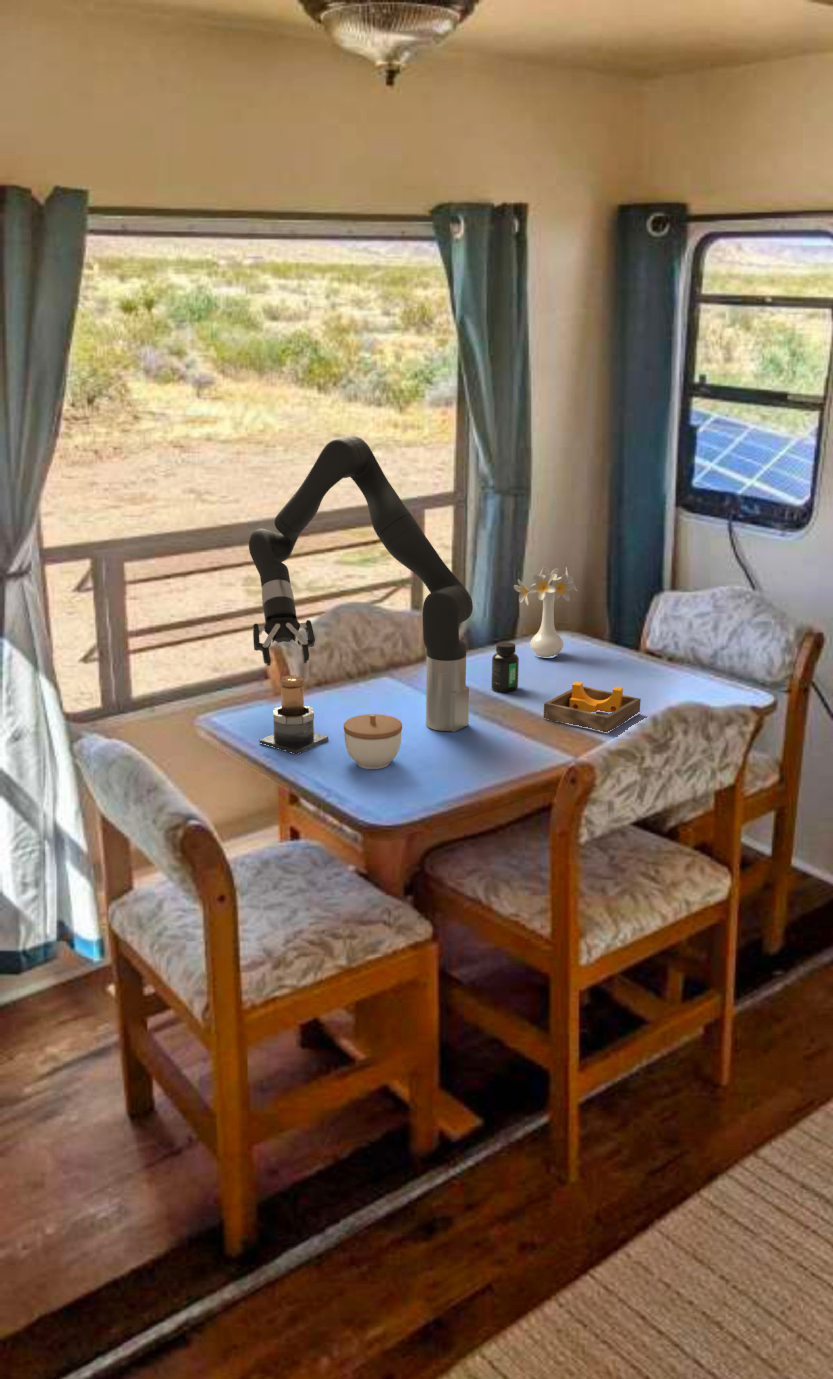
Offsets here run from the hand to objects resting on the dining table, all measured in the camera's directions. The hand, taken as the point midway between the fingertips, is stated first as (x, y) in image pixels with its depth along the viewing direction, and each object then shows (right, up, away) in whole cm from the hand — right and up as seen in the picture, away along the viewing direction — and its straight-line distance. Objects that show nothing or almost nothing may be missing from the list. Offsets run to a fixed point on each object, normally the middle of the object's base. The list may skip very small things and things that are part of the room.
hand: (287, 662), depth 281 cm
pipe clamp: (+74, -12, +14) cm, 76 cm away
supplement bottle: (+53, -6, +30) cm, 61 cm away
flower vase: (+66, +3, +57) cm, 87 cm away
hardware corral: (+72, -13, +10) cm, 74 cm away
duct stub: (+2, -18, -7) cm, 20 cm away
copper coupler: (+2, -12, -9) cm, 15 cm away
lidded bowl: (+21, -22, -18) cm, 36 cm away
